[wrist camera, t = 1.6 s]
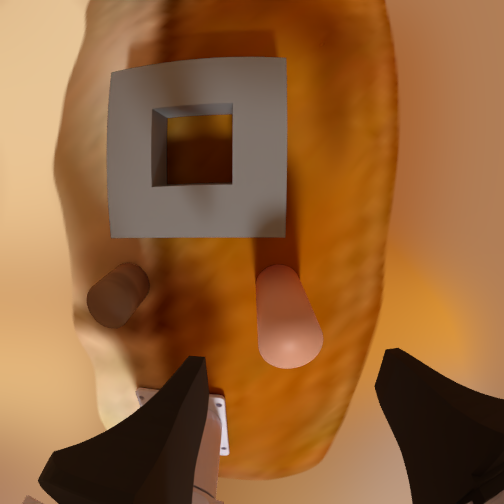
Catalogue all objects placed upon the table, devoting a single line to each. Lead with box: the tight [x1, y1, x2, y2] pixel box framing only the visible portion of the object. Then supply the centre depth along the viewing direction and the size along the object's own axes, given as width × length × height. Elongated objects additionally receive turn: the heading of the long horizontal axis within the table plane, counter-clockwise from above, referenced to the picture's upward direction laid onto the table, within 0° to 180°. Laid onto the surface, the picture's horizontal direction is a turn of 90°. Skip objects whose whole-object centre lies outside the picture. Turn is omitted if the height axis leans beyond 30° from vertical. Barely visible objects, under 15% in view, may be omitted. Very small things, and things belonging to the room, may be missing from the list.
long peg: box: [256, 264, 323, 368], centre depth 16 cm, size 3×3×7 cm
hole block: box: [107, 57, 287, 238], centre depth 15 cm, size 10×10×3 cm
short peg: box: [87, 263, 149, 328], centre depth 17 cm, size 3×3×4 cm
